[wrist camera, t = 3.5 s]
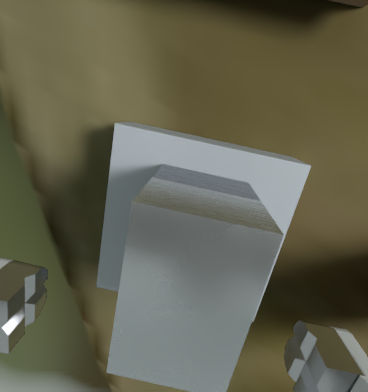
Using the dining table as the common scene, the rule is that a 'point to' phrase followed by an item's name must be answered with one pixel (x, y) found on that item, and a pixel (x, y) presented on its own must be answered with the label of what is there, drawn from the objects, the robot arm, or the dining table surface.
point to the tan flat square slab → (353, 2)
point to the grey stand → (193, 160)
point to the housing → (190, 279)
